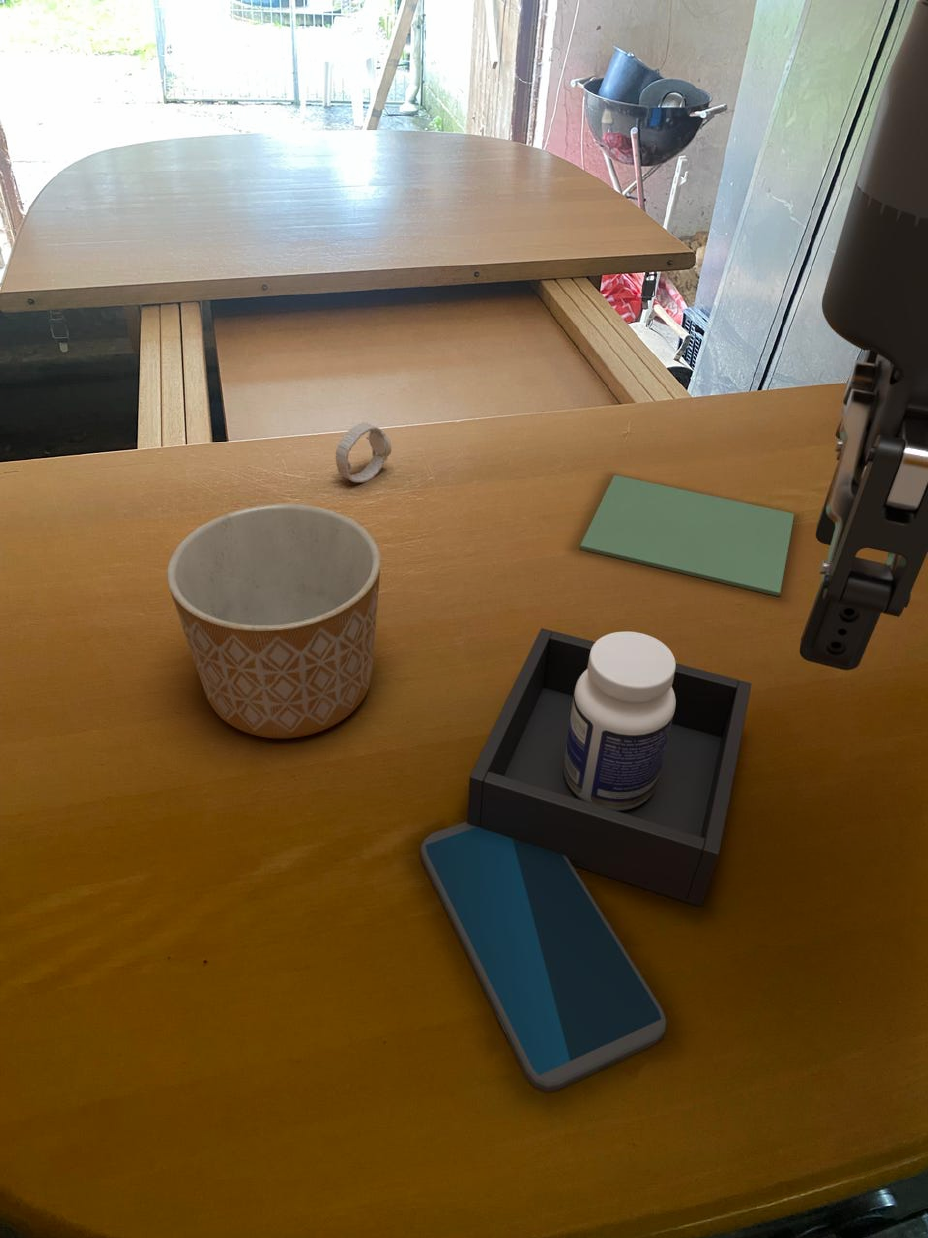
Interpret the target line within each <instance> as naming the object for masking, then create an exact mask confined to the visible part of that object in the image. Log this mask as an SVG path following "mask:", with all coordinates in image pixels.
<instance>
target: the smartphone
mask: <svg viewBox="0 0 928 1238" xmlns="http://www.w3.org/2000/svg"><path fill="white" fill-rule="evenodd" d="M420 858H421V863H422V865H423V867H424V869H425V871H426V873H427V875H428V877H429V880H430V881H431V883H432V886H433V887H434V890H435V892H436V894H437V896H438V898H439V900H440V902H441V904H442V906H443V908H444V910H445V912H446V914H447V916H448V919H449V921H450V923H451V925H452V926H453V929H454V931H455V933H456V935H457V937H458V939H459V941H460V943H461V946H462V948H463V950H464V952H465V954H466V956H467V958H468V960H469V962H470V964H471V966H472V968H473V970H474V972H475V974H476V976H477V978H478V981H479V983H480V985H481V987H482V989H483V992H484V993H485V996H486V997H487V999H488V1001H489V1003H490V1005H491V1008H492V1011H493V1012H494V1014H495V1016H496V1019H497V1020H498V1022H499V1025H500V1027H501V1029H502V1031H503V1033H504V1035H505V1036H506V1038H507V1041H508V1043H509V1045H510V1047H511V1049H512V1051H513V1053H514V1055H515V1057H516V1059H517V1062H518V1063H519V1066H520V1068H521V1070H522V1072H523V1074H524V1076H525V1078H526V1080H528V1082H529V1083H530V1084H531V1085H532V1086H533V1088H535V1089H537V1090H540V1091H542V1092H545V1093H549V1092H555V1091H560V1090H562V1089H564V1088H566V1087H568V1086H570V1085H573V1084H574V1083H577V1082H579V1081H581V1080H583V1079H586V1078H588V1077H589V1076H591V1075H593V1074H596V1073H598V1072H601V1071H602V1070H605V1069H606V1068H608V1067H611V1066H613V1065H615V1064H617V1063H619V1062H621V1061H624V1060H625V1059H628V1058H631V1057H632V1056H634V1055H636V1054H638V1053H641V1052H642V1051H645V1050H647V1049H649V1048H651V1047H653V1046H656V1045H657V1044H658V1043H659V1042H660V1041H661V1040H662V1039H663V1038H664V1036H665V1033H666V1028H667V1025H668V1021H667V1019H666V1015H665V1011H664V1009H663V1008H662V1007H661V1005H660V1003H659V1001H658V1000H657V999H656V997H655V995H654V994H653V992H652V990H651V988H650V987H649V986H648V983H646V981H645V979H644V977H643V976H642V974H641V973H640V971H639V969H638V968H637V967H636V964H635V963H634V961H633V960H632V959H631V956H630V955H629V953H628V951H627V950H626V949H625V947H624V946H623V944H622V942H621V940H620V939H619V937H618V936H617V934H616V932H615V930H614V929H613V928H612V926H611V924H610V923H609V921H608V920H607V918H606V917H605V915H604V914H603V912H602V910H601V908H600V907H599V906H598V904H597V902H596V901H595V899H594V898H593V895H592V894H591V893H590V891H589V889H588V887H587V886H586V884H585V883H584V881H583V880H582V878H581V877H580V875H579V874H578V872H577V870H576V869H575V866H573V865H572V864H571V862H570V861H569V859H568V858H567V857H566V856H564V855H562V854H559V853H556V852H553V851H549V850H546V849H543V848H540V847H537V846H534V845H531V844H528V843H525V842H522V841H519V840H516V839H512V838H509V837H506V836H503V835H500V834H497V833H494V832H491V831H488V830H485V829H482V828H480V827H475V826H472V825H469V824H467V821H464V822H461V823H458V824H455V825H452V826H450V827H447V828H444V829H441V830H437V831H435V832H432V833H431V834H429V835H428V836H426V837H424V840H423V841H422V843H421V845H420Z"/></svg>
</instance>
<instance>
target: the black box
mask: <svg viewBox="0 0 928 1238" xmlns="http://www.w3.org/2000/svg"><path fill="white" fill-rule="evenodd" d="M595 642H596V641H593V640H589V639H585V638H582V637H578V636H574V635H570V634H566V633H562V632H559V631H555V630H551V629H547V628H543V627H541V628H540V631H539V632H538V634H537V636H536V638H535V639H534V642H533V644H532V646H531V648H530V650H529V652H528V655H527V657H526V659H525V661H524V663H523V665H522V667H521V668H520V671H519V673H518V675H517V678H516V680H515V682H514V684H513V686H512V688H511V690H510V692H509V694H508V696H507V698H506V700H505V701H504V704H503V706H502V708H501V711H500V712H499V714H498V717H497V719H496V721H495V723H494V726H493V727H492V729H491V732H490V734H489V735H488V738H487V739H486V742H485V744H484V745H483V748H482V749H481V752H480V753H479V756H478V758H477V761H476V763H475V765H474V767H473V769H472V770H471V773H470V775H469V780H468V800H467V815H466V816H467V818H466V822H467V824H469V825H472V826H475V827H480V828H482V829H485V830H488V831H491V832H494V833H497V834H500V835H503V836H506V837H509V838H512V839H516V840H519V841H522V842H525V843H528V844H531V845H534V846H537V847H540V848H543V849H546V850H549V851H553V852H556V853H559V854H562V855H564V856H566V857H567V858H568V859H569V861H570V862H571V864H572V865H573V867H576V868H579V869H583V870H586V871H589V872H591V873H595V874H598V875H601V876H604V877H607V878H610V879H613V880H616V881H619V882H622V883H625V884H629V885H631V886H634V887H637V888H641V889H643V890H647V891H650V892H653V893H656V894H659V895H662V896H665V897H667V898H671V899H673V900H677V901H680V902H683V903H686V904H689V905H692V906H695V907H698V908H701V907H702V904H703V901H704V898H705V896H706V893H707V889H708V887H709V884H710V881H711V878H712V875H713V872H714V869H715V867H716V863H717V861H718V859H719V856H720V852H721V851H720V850H721V847H722V846H721V845H722V840H723V837H724V836H723V835H724V830H725V825H726V820H727V814H728V810H729V809H728V808H729V805H730V804H729V803H730V798H731V793H732V790H733V782H734V779H735V773H736V767H737V762H738V758H739V752H740V748H741V742H742V736H743V732H744V731H743V730H744V726H745V720H746V717H747V716H746V715H747V711H748V705H749V700H750V695H751V690H752V684H753V683H752V682H749V681H744V680H741V679H737V678H734V677H730V676H726V675H722V674H718V673H714V672H712V671H708V670H703V669H700V668H695V667H692V666H688V665H684V664H680V663H677V662H675V663H676V668H675V673H674V678H673V683H672V689H673V691H674V694H675V699H676V705H675V712H674V716H673V720H672V724H671V728H670V732H669V736H668V740H667V744H666V748H665V753H664V757H663V761H662V765H661V769H660V773H659V777H658V781H657V784H656V787H655V790H654V792H653V794H652V795H651V796H650V797H649V798H648V799H647V800H646V801H645V802H644V803H642V804H641V805H639V806H637V807H635V808H632V809H628V810H622V811H615V810H612V809H608V808H605V807H602V806H599V805H595V804H592V803H589V802H586V801H583V800H581V799H580V798H579V797H578V796H577V795H576V794H575V793H574V792H573V791H572V790H571V788H570V787H569V785H568V783H567V781H566V778H565V775H564V760H565V753H566V746H567V739H568V732H569V725H570V719H571V712H572V705H573V698H574V692H575V687H576V684H577V681H578V679H579V678H580V676H581V675H582V673H583V672H584V671H585V670H586V669H587V668H588V662H589V656H590V651H591V648H592V647H593V645H594V644H595Z"/></svg>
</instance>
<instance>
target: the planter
mask: <svg viewBox="0 0 928 1238" xmlns="http://www.w3.org/2000/svg"><path fill="white" fill-rule="evenodd" d="M381 558H382V557H381V551H380V549H379V545H378V544H377V541H376V540H375V539H374V537H373V536H372V535H371V533H370V532H369V530H367V529H366V528H365V527H364V526H362V524H360V523H359V522H358V521H356V520H354V519H352V518H350V517H348V516H346V515H344V514H342V513H340V512H337V511H334V510H331V509H327V508H323V507H319V506H314V505H310V504H309V505H308V504H300V503H299V504H297V503H274V504H263V505H256V506H251V507H245V508H241V509H237V510H234V511H231V512H228V513H225V514H223V515H220V516H218V517H215V518H213V519H211V520H209V521H207V522H205V523H204V524H201V525H200V526H199V527H197V528H195V529H194V530H193V531H192V532H190V533H189V534H188V535H187V536H186V537H184V538H183V539H182V540H181V542H179V544H178V545H177V547H176V548H175V549H174V551H173V552H172V554H171V556H170V558H169V560H168V564H167V568H166V581H167V585H168V589H169V592H170V594H171V597H172V600H173V603H174V606H175V608H176V609H175V610H176V612H177V615H178V618H179V620H180V623H181V627H182V629H183V633H184V636H185V638H186V641H187V644H188V647H189V649H190V653H191V656H192V659H193V660H194V663H195V667H196V670H197V673H198V676H199V678H200V681H201V684H202V687H203V690H204V693H205V696H206V699H207V701H208V703H209V704H210V706H211V708H212V709H213V711H214V712H215V713H216V714H217V715H218V716H219V717H220V718H221V719H222V720H223V722H226V724H229V725H230V726H232V727H233V728H235V729H237V730H239V731H241V732H244V733H247V734H250V735H253V736H257V737H261V738H267V739H295V738H301V737H302V738H303V737H306V736H311V735H314V734H317V733H321V732H322V731H325V730H327V729H329V728H332V727H333V726H335V725H336V724H338V723H340V722H341V721H343V720H344V719H346V718H347V717H348V716H350V715H351V714H352V713H353V712H354V711H355V710H356V709H357V708H358V707H359V706H360V704H361V703H362V701H363V700H364V698H365V697H366V695H367V693H368V691H369V689H370V685H371V682H372V678H373V677H372V676H373V668H374V667H373V665H374V656H375V655H374V653H375V641H376V628H377V616H378V603H379V602H378V601H379V589H380V576H381V562H382V559H381Z"/></svg>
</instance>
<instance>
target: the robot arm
mask: <svg viewBox="0 0 928 1238" xmlns="http://www.w3.org/2000/svg"><path fill="white" fill-rule="evenodd" d="M867 137H868V138H867V141H866V145H865V149H864V152H863V155H862V159H861V161H860V165H859V169H858V172H857V176H856V179H855V183H854V187H853V189H852V194H851V197H850V200H849V203H848V207H847V211H846V214H845V218H844V221H843V225H842V228H841V231H840V236H839V239H838V242H837V246H836V250H835V252H834V256H833V259H832V263H831V267H830V270H829V273H828V278H827V279H826V280H827V281H826V284H825V288H824V291H823V295H822V298H821V310H822V314H823V318H824V319H825V321H826V323H827V325H828V326H829V327H830V328H831V330H833V332H835V333H836V334H837V335H838V336H839V337H841V338H842V339H843V340H845V342H848V343H849V344H851V345H853V346H854V347H855V348H856V347H857V348H858V349H860V350H862V351H866V353H865V357H864V360H863V361H862V360H854V363H853V365H852V367H851V369H850V372H849V376H848V380H847V384H846V387H845V392H844V396H843V400H842V403H843V404H842V407H841V410H840V415H839V419H838V422H837V427H836V431H835V437H836V438H837V439H838V440H837V442H836V445H835V450H834V451H835V452H837V454H836V459H835V460H836V461H838V462H837V463H836V467H835V471H834V473H833V476H832V479H831V483H830V484H829V488H828V491H827V495H826V497H825V500H824V503H823V506H822V508H821V512H820V515H819V518H818V521H817V523H816V528H815V538H816V540H817V541H818V542H819V543H821V544H823V545H828V546H829V548H828V549H829V550H828V554H827V556H826V560H825V559H823V560H822V562H821V566H820V569H819V574H820V575H822V576H821V582H820V585H819V587H818V590H817V593H816V596H815V600H814V601H813V604H812V607H811V609H810V613H809V615H808V618H807V620H806V624H805V627H804V629H803V632H802V635H801V638H800V644H799V654H800V656H801V657H802V658H803V660H805V661H808V662H810V663H815V664H819V665H822V666H826V667H830V668H835V669H838V670H842V671H852V670H854V669H856V668H858V667H859V666H860V664H861V661H862V659H863V657H864V654H865V652H866V650H867V647H868V645H869V643H870V640H871V638H872V635H873V633H874V630H875V628H876V626H877V624H878V622H879V619H880V616H881V614H885V615H889V616H893V617H898V618H899V617H900V616H901V615H902V614H903V612H904V609H905V608H906V609H907V608H908V606H909V603H910V601H911V596H912V593H911V592H912V590H913V587H914V586H915V583H916V580H917V578H918V576H919V574H920V571H921V569H922V566H923V564H924V562H925V559H926V557H927V555H928V0H917V1H916V3H915V6H914V9H913V12H912V14H911V18H910V21H909V23H908V26H907V28H906V31H905V34H904V36H903V39H902V41H901V43H900V45H899V48H898V50H897V52H896V55H895V56H894V60H893V62H892V64H891V66H890V69H889V72H888V74H887V77H886V79H885V82H884V85H883V88H882V90H881V94H880V97H879V99H878V103H877V105H876V109H875V113H874V117H873V120H872V124H871V128H870V131H869V133H868V136H867ZM863 549H870V550H876V551H880V552H884V553H887V558H886V561H885V563H884V562H880V561H875V560H870V559H867V558H863V557H862V558H861V557H857V554H858V553H859V551H861V550H863Z"/></svg>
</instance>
